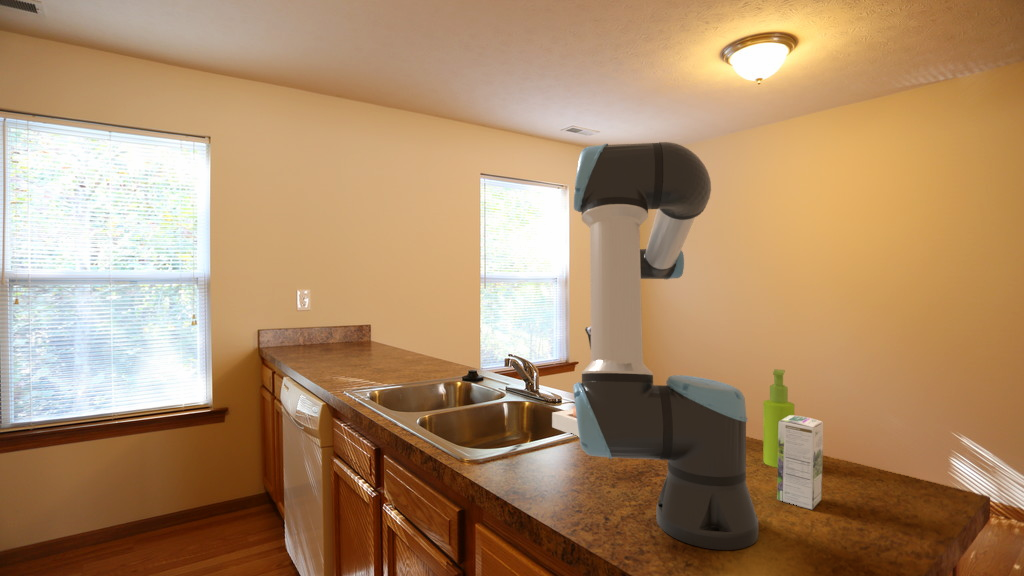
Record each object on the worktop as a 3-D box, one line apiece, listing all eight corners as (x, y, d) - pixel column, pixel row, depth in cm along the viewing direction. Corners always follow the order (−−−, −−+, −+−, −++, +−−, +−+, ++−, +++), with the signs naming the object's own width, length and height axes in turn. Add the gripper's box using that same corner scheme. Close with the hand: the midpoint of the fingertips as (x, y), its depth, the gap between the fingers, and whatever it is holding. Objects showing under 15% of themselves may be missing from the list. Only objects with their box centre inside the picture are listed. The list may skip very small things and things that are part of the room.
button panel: (588, 440, 124) (588, 424, 124) (552, 427, 135) (552, 412, 135) (657, 423, 138) (657, 409, 138) (619, 413, 150) (619, 399, 150)
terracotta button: (581, 423, 128) (581, 411, 128) (569, 419, 132) (569, 407, 132) (595, 420, 131) (595, 408, 131) (582, 416, 135) (582, 405, 135)
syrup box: (787, 491, 93) (787, 413, 93) (823, 501, 89) (823, 419, 89) (776, 500, 89) (776, 419, 89) (814, 511, 85) (814, 426, 85)
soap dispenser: (795, 460, 109) (795, 369, 109) (793, 470, 103) (793, 374, 103) (765, 455, 112) (765, 367, 112) (761, 465, 106) (761, 371, 106)
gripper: (597, 302, 130) (597, 392, 130) (632, 300, 137) (632, 386, 137) (578, 301, 136) (578, 387, 136) (612, 300, 143) (612, 382, 144)
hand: (605, 386), depth 137 cm, fingers closed
